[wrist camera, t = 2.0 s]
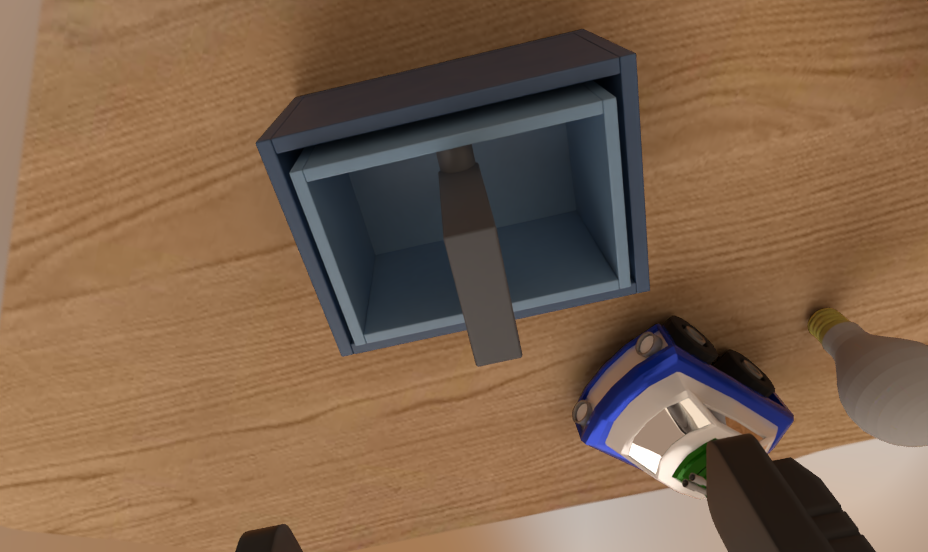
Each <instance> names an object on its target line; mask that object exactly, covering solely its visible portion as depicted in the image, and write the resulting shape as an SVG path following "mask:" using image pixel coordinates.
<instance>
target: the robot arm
mask: <svg viewBox="0 0 928 552" xmlns="http://www.w3.org/2000/svg"><path fill="white" fill-rule="evenodd" d="M706 493H707V501H708V506H709V510H710V513H711V516H712V519H713V522H714V524H715V527H716V529H717V531H718V533H719V534H720V537H721V539H722V540H723V543H724V544H725V546H726V548H727V550H728V552H876V551H875V550H874V549H873V547H872V546H871V545H870V543H869V542H868V541H867V539H866V538H865V537H864V535H861V534H860V533H859V530H858V528H857V526H856V525H855V524H854V522H853V521H852V520H851V518H850V517H849V516H848V514H847V513H846V512H845V511H843V510H842V508H841V505H840V504H839V503H838V501H837V500H836V499H835V497H834V496H833V495H832V493H831V492H830V491H829V489H828V488H827V487H826V485H825V484H824V483H823V481H822V480H821V479H820V478H819V477H817V476H816V475H815V474H813V473H812V472H811V471H809V470H808V469H806V468H805V467H803V466H802V465H801V464H799V463H798V462H796V461H795V460H794V459H792V458H791V457H790V458H785V459H780V460H774V461H772V460H771V459H770V457H769V456H768V454H767V453H766V451H765V450H764V448H763V447H762V446H761V444H760V443H759V441H758V440H757V439H756V438H755V437H754V436H753V435H752V434H750V433H747V434H742V435H737V436H732V437H727V438H722V439H717V440H711V441H708V443H707V446H706ZM235 552H303V551H302V549H301V547H300V545H299V544H298V542H297V540H296V538H295V537H294V535H293V533H292V531H291V530H290V528H289V527H288V526H287V525H286V524H281V525H276V526H271V527H266V528H261V529H256V530H251V531H247V532H245V533H243V535H242V536H241V538H240V540H239V542H238V545H237V548H236V551H235Z"/></svg>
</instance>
